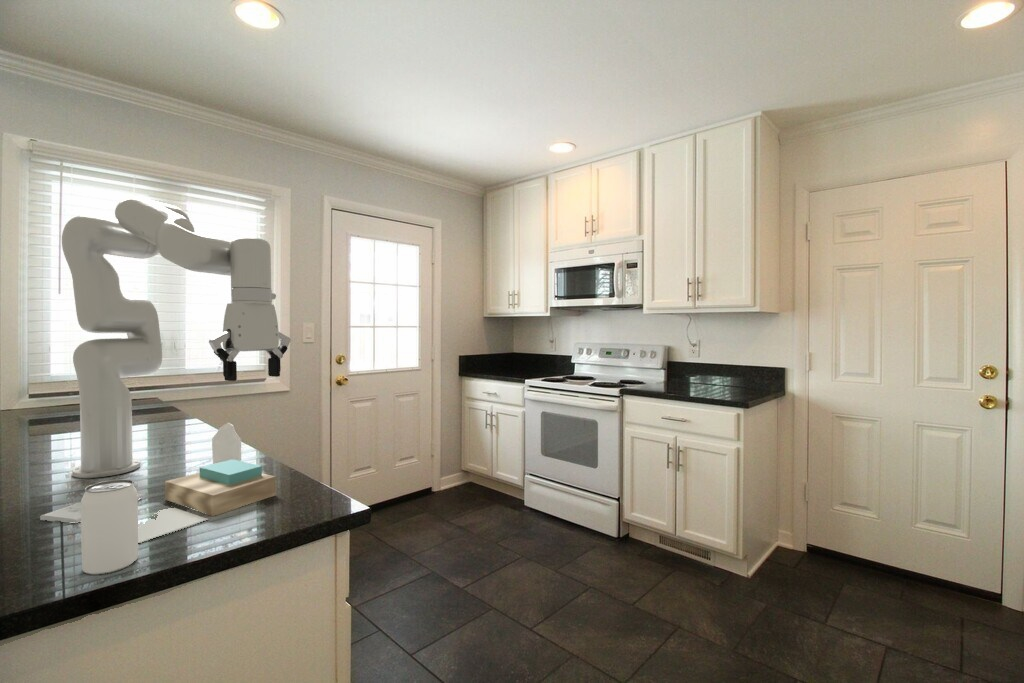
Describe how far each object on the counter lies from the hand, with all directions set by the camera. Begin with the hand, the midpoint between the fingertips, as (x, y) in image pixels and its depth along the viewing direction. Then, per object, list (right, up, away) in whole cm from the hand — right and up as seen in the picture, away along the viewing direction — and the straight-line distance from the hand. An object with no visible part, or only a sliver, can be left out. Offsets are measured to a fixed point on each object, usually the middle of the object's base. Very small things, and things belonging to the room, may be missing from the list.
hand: (253, 378), depth 103 cm
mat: (-11, -25, -15) cm, 31 cm away
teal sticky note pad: (-4, -20, -2) cm, 21 cm away
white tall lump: (-13, -24, +13) cm, 30 cm away
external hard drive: (-25, -25, -10) cm, 37 cm away
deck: (-5, -24, -3) cm, 25 cm away
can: (-5, -26, -31) cm, 40 cm away
